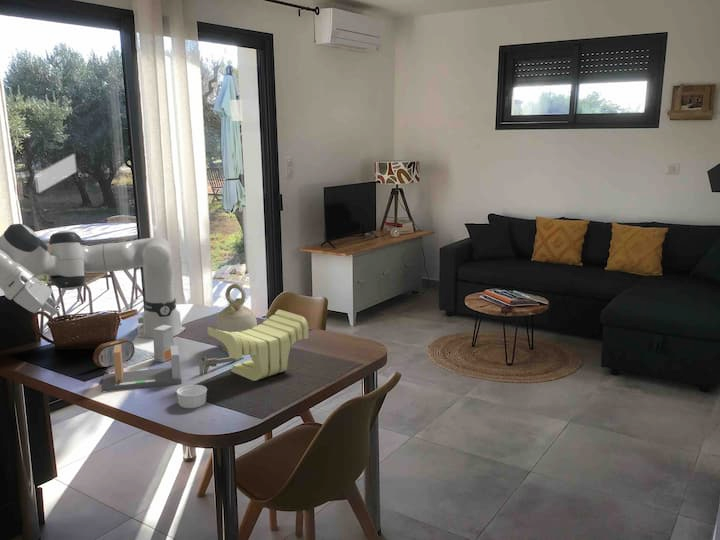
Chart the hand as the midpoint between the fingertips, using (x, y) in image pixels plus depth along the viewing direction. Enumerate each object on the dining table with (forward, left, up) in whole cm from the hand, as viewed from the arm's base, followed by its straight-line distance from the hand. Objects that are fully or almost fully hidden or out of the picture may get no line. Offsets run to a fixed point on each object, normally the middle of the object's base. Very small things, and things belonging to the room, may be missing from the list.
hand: (57, 311), depth 191 cm
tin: (-15, +19, -26) cm, 35 cm away
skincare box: (-11, +35, -26) cm, 44 cm away
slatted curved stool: (+19, +59, -26) cm, 67 cm away
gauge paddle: (+5, +16, -24) cm, 29 cm away
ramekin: (+32, +31, -26) cm, 51 cm away
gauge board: (+6, +23, -25) cm, 35 cm away
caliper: (+7, +50, -26) cm, 56 cm away
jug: (-9, +62, -26) cm, 67 cm away
